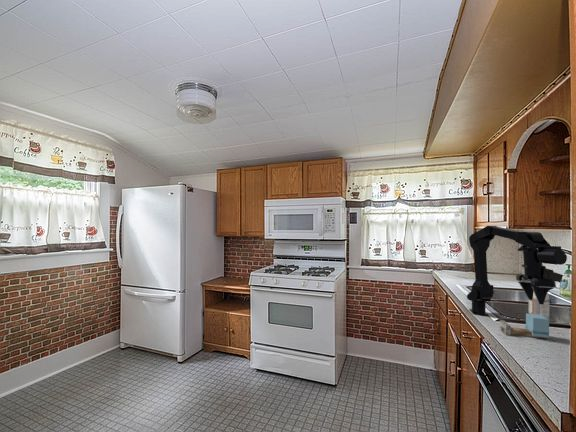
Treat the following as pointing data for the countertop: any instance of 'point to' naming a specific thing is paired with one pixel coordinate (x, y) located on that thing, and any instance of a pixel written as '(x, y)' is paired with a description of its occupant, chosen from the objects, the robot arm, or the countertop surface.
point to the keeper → (537, 325)
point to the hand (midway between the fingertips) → (535, 301)
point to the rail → (516, 330)
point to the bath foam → (539, 306)
